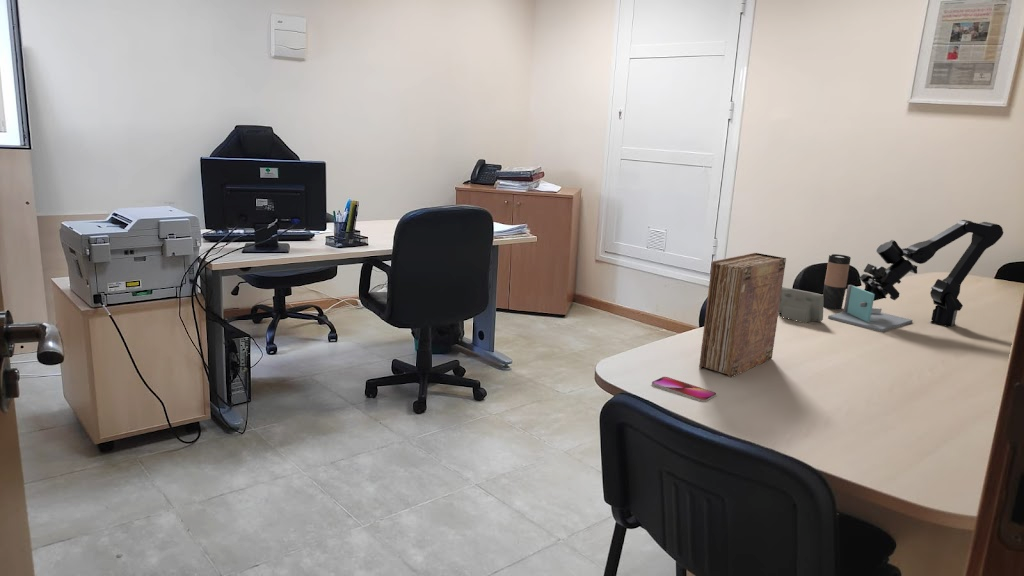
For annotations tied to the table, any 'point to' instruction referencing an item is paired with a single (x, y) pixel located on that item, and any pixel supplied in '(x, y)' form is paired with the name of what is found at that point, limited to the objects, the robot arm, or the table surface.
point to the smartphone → (683, 389)
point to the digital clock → (801, 305)
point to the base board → (872, 320)
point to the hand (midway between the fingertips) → (860, 302)
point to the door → (859, 303)
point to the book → (741, 312)
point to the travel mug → (836, 281)
